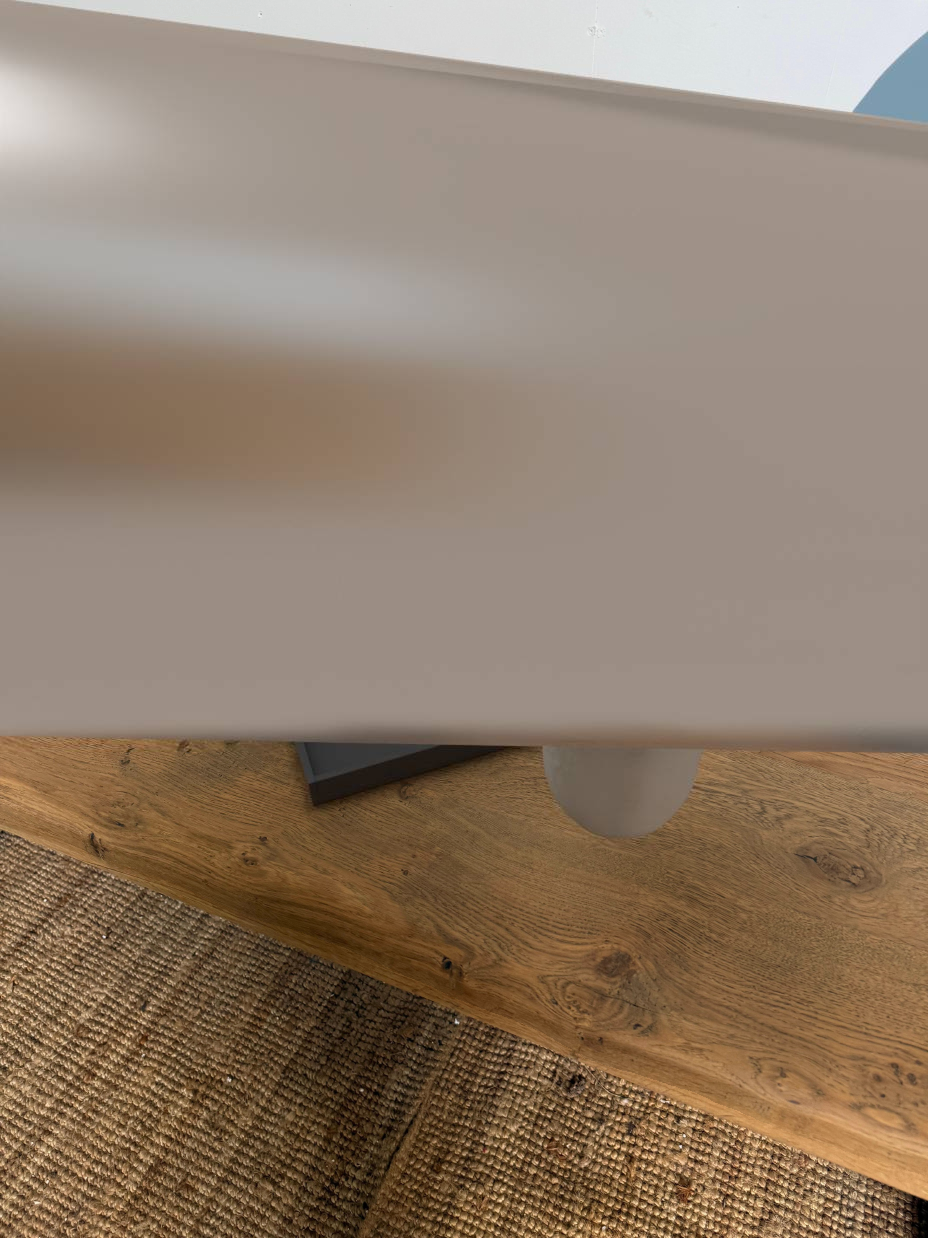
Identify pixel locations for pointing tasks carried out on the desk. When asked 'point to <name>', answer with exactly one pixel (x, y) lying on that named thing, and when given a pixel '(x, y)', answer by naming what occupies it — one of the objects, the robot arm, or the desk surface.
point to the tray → (372, 764)
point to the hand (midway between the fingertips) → (594, 639)
